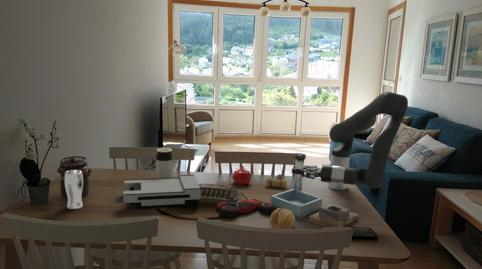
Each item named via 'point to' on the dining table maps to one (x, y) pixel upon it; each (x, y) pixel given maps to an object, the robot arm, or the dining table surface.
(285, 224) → the bread roll
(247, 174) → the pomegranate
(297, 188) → the stop pin
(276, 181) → the gavel
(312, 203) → the tray
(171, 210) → the dining table surface
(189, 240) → the dining table surface
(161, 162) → the travel mug
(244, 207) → the toy motorcycle
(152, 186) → the game console
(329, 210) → the peg hole base
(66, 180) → the beer glass
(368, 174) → the robot arm
